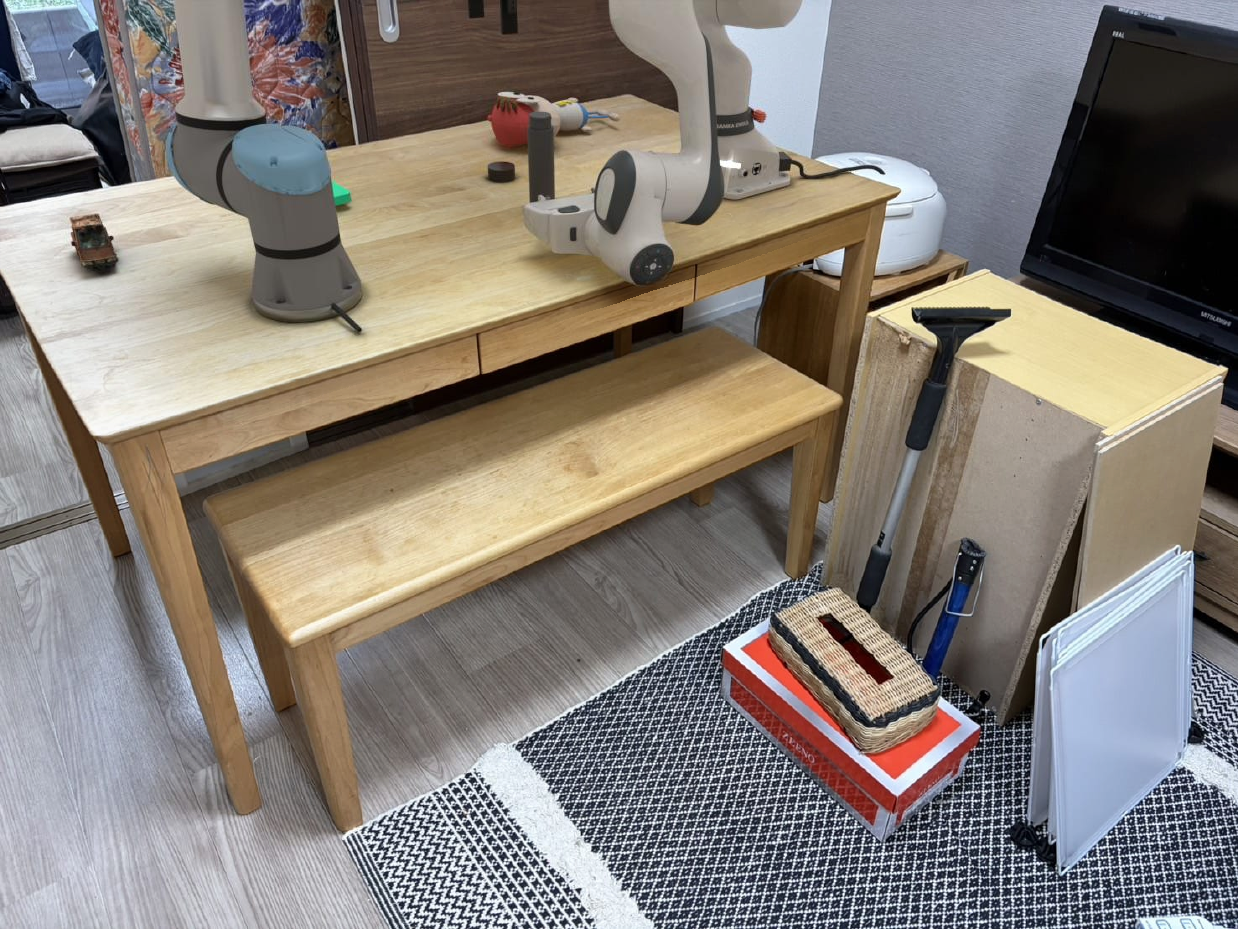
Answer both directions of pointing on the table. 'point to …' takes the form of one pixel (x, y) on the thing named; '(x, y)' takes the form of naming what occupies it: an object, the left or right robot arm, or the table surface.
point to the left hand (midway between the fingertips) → (492, 25)
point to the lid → (501, 171)
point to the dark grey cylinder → (540, 155)
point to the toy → (516, 108)
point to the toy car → (92, 242)
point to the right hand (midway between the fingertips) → (568, 195)
